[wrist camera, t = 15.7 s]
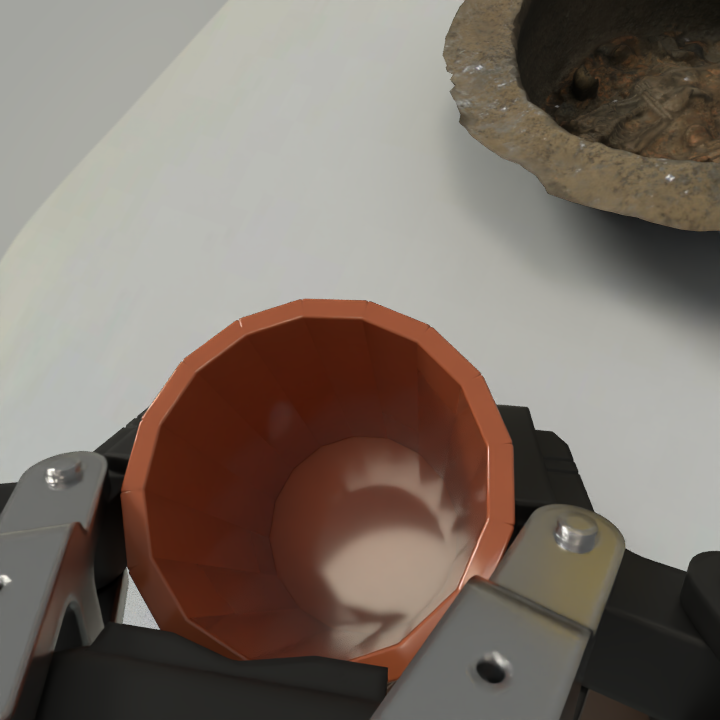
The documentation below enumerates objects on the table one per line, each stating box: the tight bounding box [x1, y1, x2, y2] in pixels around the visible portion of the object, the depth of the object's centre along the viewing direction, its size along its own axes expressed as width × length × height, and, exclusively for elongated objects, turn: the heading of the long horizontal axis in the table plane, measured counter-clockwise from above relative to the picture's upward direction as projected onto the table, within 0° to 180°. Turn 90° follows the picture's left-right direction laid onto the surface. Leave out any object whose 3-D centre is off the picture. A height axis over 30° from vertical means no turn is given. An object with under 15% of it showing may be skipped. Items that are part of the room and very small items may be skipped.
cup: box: [120, 299, 515, 684], centre depth 12 cm, size 6×6×8 cm
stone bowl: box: [443, 0, 720, 231], centre depth 25 cm, size 25×25×9 cm
